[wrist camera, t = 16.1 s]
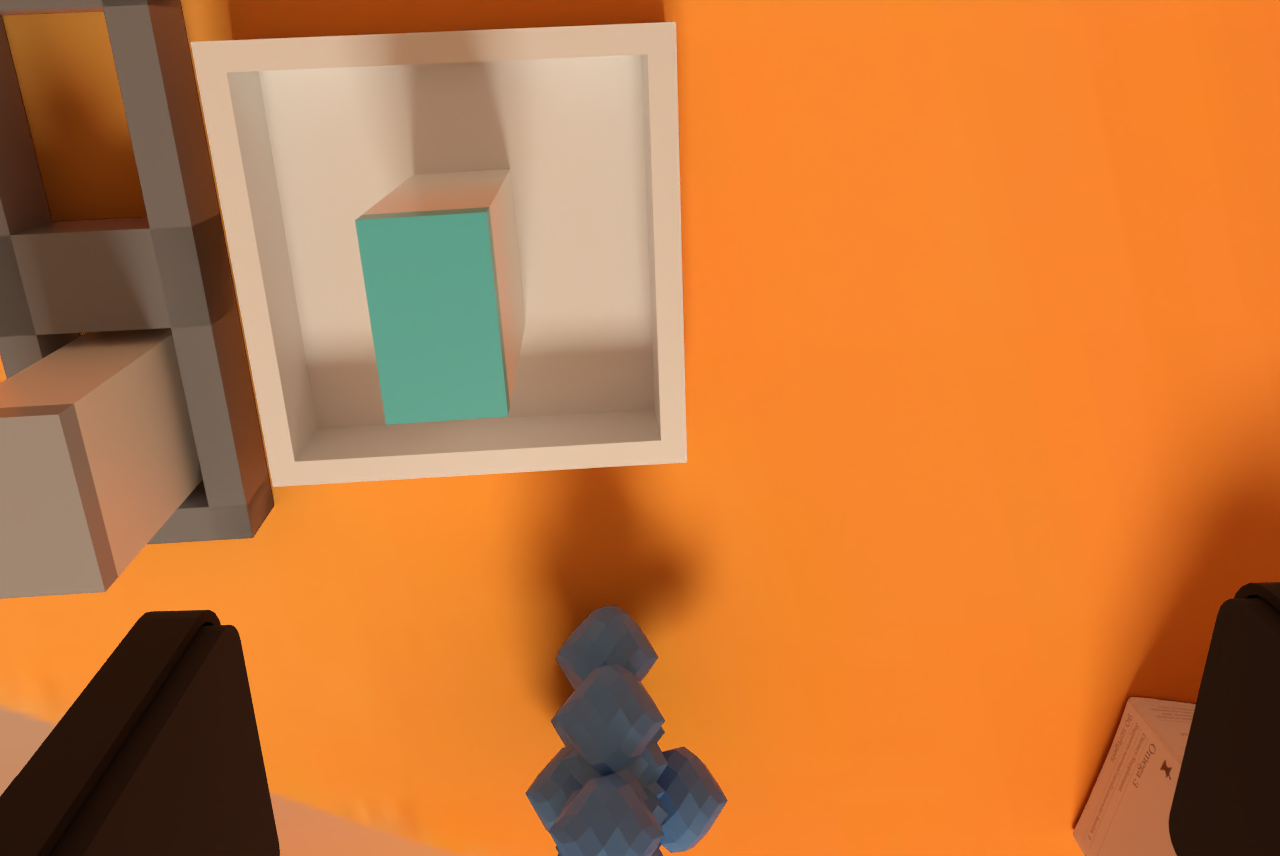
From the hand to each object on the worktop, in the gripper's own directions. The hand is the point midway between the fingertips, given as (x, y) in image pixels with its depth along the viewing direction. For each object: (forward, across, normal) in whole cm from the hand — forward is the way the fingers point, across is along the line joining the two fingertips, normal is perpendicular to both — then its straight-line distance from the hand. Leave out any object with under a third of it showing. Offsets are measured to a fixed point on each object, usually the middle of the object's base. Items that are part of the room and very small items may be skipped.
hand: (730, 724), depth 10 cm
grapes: (+25, +1, +18) cm, 31 cm away
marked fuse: (+24, +6, +1) cm, 25 cm away
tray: (+25, +6, +1) cm, 25 cm away
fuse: (+24, +16, +5) cm, 30 cm away
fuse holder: (+24, +16, +1) cm, 30 cm away
